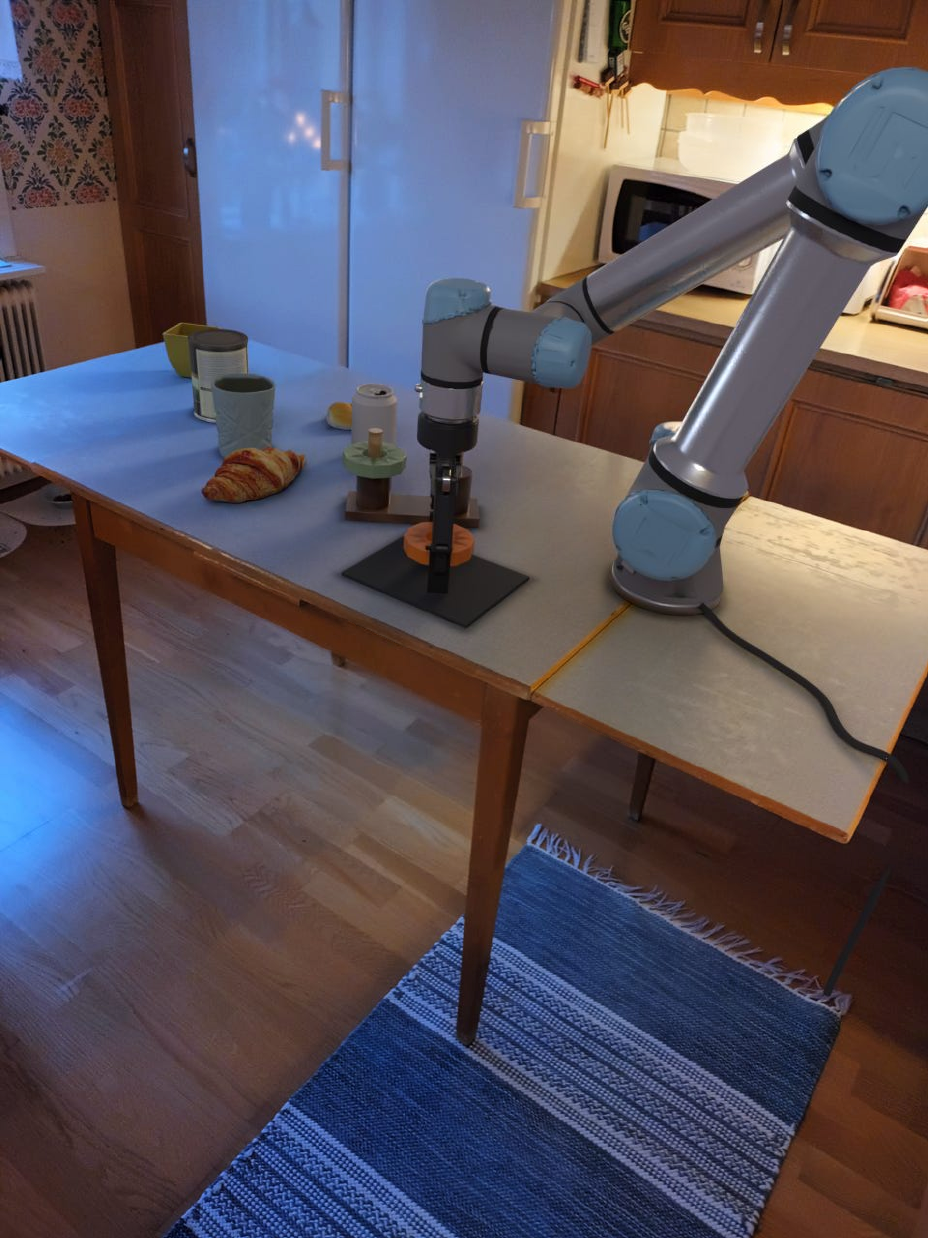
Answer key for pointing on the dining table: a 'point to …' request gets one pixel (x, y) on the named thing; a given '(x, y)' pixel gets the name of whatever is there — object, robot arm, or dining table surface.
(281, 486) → the croissant
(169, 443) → the dining table surface
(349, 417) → the bread roll
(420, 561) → the orange disc
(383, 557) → the mat
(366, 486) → the peg rack
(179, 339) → the flower pot
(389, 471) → the green disc
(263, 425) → the grey embossed cup
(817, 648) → the dining table surface
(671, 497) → the robot arm
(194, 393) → the coffee can
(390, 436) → the can
